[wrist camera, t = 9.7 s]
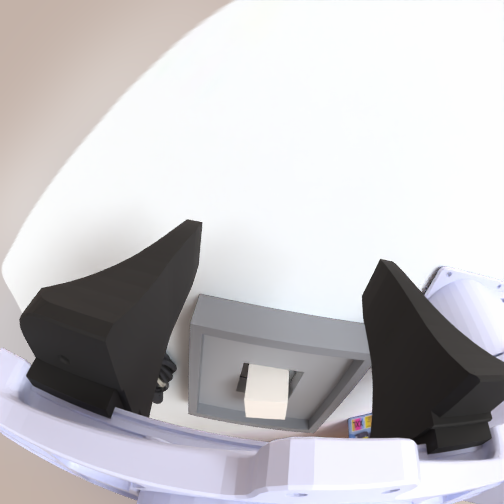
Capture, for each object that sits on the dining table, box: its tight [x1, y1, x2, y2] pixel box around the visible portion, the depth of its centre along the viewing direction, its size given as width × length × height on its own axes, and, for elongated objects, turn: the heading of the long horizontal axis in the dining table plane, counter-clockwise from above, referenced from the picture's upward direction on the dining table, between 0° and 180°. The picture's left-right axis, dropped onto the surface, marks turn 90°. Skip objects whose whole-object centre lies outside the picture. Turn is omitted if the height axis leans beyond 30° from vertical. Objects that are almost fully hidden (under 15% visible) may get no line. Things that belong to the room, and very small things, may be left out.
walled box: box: [188, 294, 372, 433], centre depth 31 cm, size 16×18×4 cm
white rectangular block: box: [244, 364, 289, 420], centre depth 30 cm, size 4×4×6 cm
